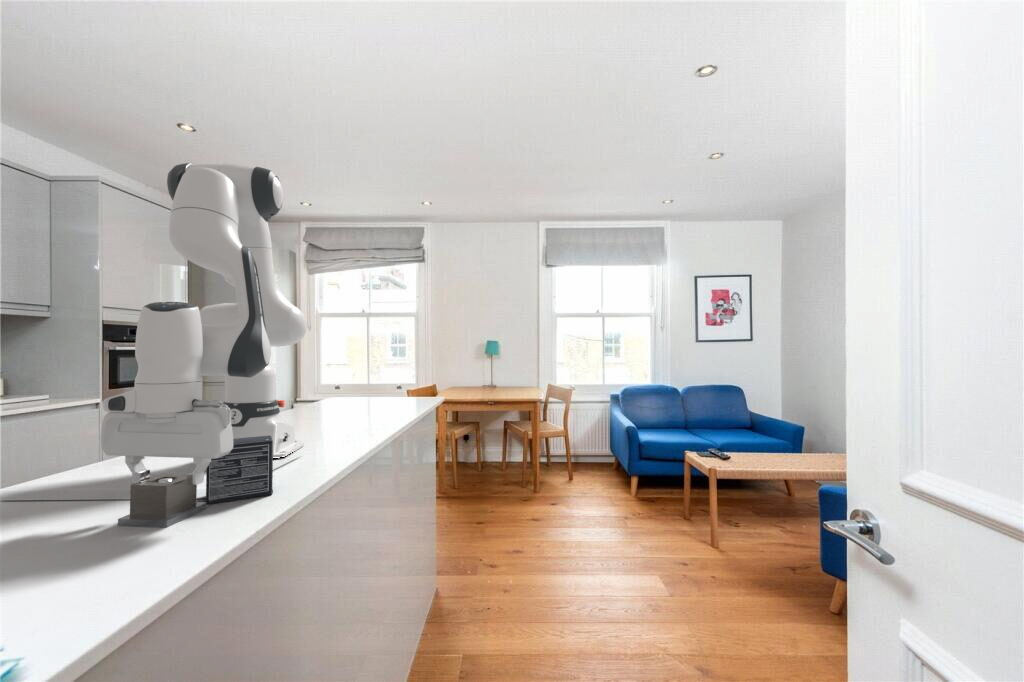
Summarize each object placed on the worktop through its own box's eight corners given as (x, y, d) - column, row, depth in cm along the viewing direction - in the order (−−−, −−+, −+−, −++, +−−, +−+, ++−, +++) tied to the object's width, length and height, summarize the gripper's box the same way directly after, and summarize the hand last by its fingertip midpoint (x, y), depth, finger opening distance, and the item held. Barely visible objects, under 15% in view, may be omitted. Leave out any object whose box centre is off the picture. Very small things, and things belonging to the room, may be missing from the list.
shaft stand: (162, 506, 75) (163, 472, 75) (206, 508, 74) (207, 473, 75) (117, 525, 67) (118, 486, 67) (166, 527, 66) (167, 488, 67)
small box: (270, 486, 87) (272, 433, 87) (273, 495, 81) (274, 439, 82) (206, 495, 81) (208, 439, 81) (204, 505, 76) (206, 446, 76)
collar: (162, 503, 74) (163, 473, 74) (196, 504, 73) (197, 474, 74) (129, 516, 68) (130, 484, 68) (165, 518, 67) (166, 486, 68)
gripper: (243, 398, 74) (241, 478, 74) (129, 395, 75) (128, 475, 75) (215, 403, 68) (214, 491, 68) (92, 400, 69) (91, 487, 69)
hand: (168, 482), depth 71 cm, fingers open, 8 cm apart
